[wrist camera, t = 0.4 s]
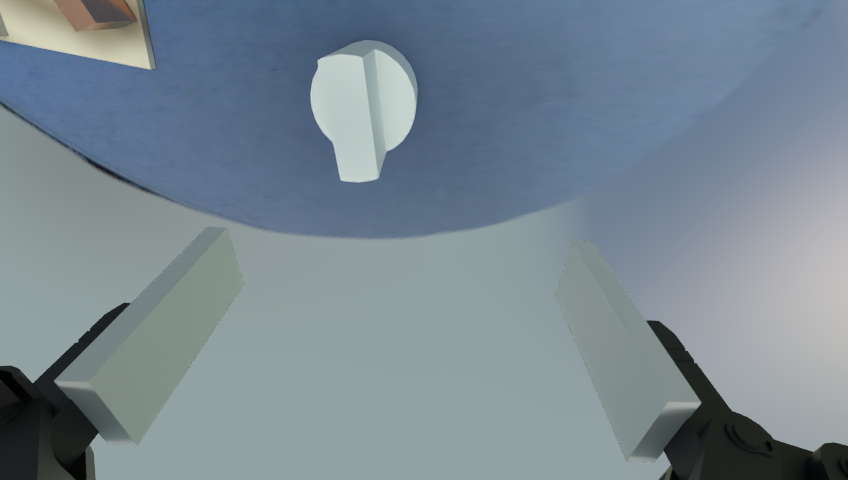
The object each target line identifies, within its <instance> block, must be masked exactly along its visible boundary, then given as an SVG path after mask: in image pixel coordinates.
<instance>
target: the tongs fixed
mask: <svg viewBox="0 0 848 480" xmlns="http://www.w3.org/2000/svg"><path fill="white" fill-rule="evenodd" d="M1 36H9V35H8V32H7V29H6V27H5V24H4V22H3V19H2V16H1V14H0V37H1Z"/></svg>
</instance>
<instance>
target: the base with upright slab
mask: <svg viewBox="0 0 848 480" xmlns="http://www.w3.org/2000/svg"><path fill="white" fill-rule="evenodd" d="M317 62H318V69H317V71H316V73H315V76H314V78H313V81H312V86H311V92H310V96H311V107H312V111H313V113H314V116H315V119H316V122H317V124H318V125H319V127H320V128H321V130H322V131H323V133H324V134H325V135H326V136H327V137H328V138H329V139H330V140H331V141H332V142H333V144H334V150H335V155H336V160H337V165H338V170H339V175H340V180H342V181H347V182H365V181H371V180H375V179H378V178H379V175H380V171H381V168H382V165H383V161H384V158H385V155H386V152H387V151H389V150H391V149H394V148H395V147H396V146H397V145H398V144H400V143H401V142H402V141H403V140H404V139H405V137H406V136H407V134H408V133H409V131H410V130H411V127H412V124H413V121H414V118H415V112H416V105H417V93H418V87H417V82H416V77H415V74H414V72H413V70H412V67H411V65H410V64H409V62H408V61H407V60H406V58H405V57H404V56H403V55H402V54H401V53H400V52H399V51H397V50H396V49H395V48H393V47H392V46H391V45H388V44H385V43H383V42H380V41H374V40H363V41H359V42H354V43H352V44H350V45H348V46H346V47H343V48H341V49H339V50H337V51H335V52H333V53H331V54H329V55H327V56H325V57H322V58H321V59H319V60H317Z"/></svg>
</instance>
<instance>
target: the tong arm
mask: <svg viewBox="0 0 848 480" xmlns="http://www.w3.org/2000/svg"><path fill="white" fill-rule="evenodd" d="M53 1H54V2H55V3H56V5H57V6H58V8H59V9H60V10H61V12H62V13H63V15H64V16H65V17H66V19H67V20H68V21H69V23H70V24H71V26H72V27H73V28H74V30H75V31H76V32H80V31H94V30H108V29H119V28H121V27H124V26H126V25H128V24H131V23H133V22H136V19H135V18H134V16H133V15H132V13H131V11H130V10H129V8H128V7H127V5H126V4H125V2H124V0H53Z"/></svg>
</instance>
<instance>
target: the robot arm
mask: <svg viewBox="0 0 848 480" xmlns="http://www.w3.org/2000/svg"><path fill="white" fill-rule="evenodd" d="M243 285H244V281H243V278H242V275H241V271H240V268H239V264H238V261H237V258H236V255H235V252H234V249H233V245H232V243H231V239H230V236H229V232H228V229H227V228H217V227H207V228H205V229H204V231H202V232H201V233H200V234H199V235H198V236H197V237H196V238H195V239H194V241H192V243H190V245H188V247H186V248H185V249H184V250H183V252H182V253H181V254H180V255H179V256H178V257H177V258H176V259H175V260H174V261H173V262H172V263H171V264H170V265H169V266H168V267H167V268H166V269H165V270H164V271H163V272H162V273H161V274H160V275H159V276H158V277H157V278H156V279H155V280H154V281H153V282H152V283H151V284H150V285H149V286H148V287H147V288H146V289H145V290H144V291H143V292H142V293H141V294H140V295H139V296H138V297H137V298H136V299H135V300H134V301H133V302H132V303H123V304H121V305H120V306H118V307H116V308H115V309H113V310H111V311H110V312H108V313H107V314H105V315H104V316H103V317H102V318H101V319H100V320H99V321H97V323H95V324H94V325H93V327H91V328H90V331H87V332H86V333H85V334H84V335H83V336H82V337H81V338H80V339H79V342H78V343H75V344H74V345H73V346H72V347H70V348H69V349H68V350H67V351H66V352H65V353H64V354H63V355H62V356H61V357H60V358H59V359H58V360H57V361H56V362H55V363H54V364H53V365H52V366H51V367H50V368H48V369H47V370H46V371H45V372H44V373H43V374H42V375H41V376H40V377H39V378H38V379H37V380H36V381H35V382H34V383H31V381H30V380H29V379H28V378H27V377H26V376H25V375H24V374H23V373H22V372H21V371H20V369H18V368H16V367H13V366H0V480H95V466H94V453H93V451H92V449H91V447H90V446H89V444H90V443H91V442H92V440H93V439H94V438H95V437H96V435H97V434H98V433H99V434H100V435H101V436H102V438H103V439H104V440H105V441H106V442H107V443H108V445H131V446H138V444H139V443H140V441H141V440H142V438H143V436H144V435H145V434H146V432H147V431H148V429H149V428H150V426H151V425H152V423H153V421H154V420H155V418H156V417H157V415H158V414H159V412H160V411H161V409H162V408H163V406H164V405H165V403H166V402H167V400H168V399H169V397H170V396H171V394H172V393H173V391H174V390H175V388H176V387H177V385H178V383H179V382H180V381H181V379H182V377H183V376H184V375H185V373H186V372H187V370H188V368H189V367H190V365H191V364H192V362H193V361H194V359H195V358H196V356H197V355H198V353H199V352H200V350H201V349H202V347H203V346H204V344H205V343H206V341H207V339H208V338H209V337H210V335H211V334H212V332H213V331H214V329H215V327H216V326H217V325H218V323H219V321H220V320H221V318H222V317H223V315H224V314H225V312H226V311H227V309H228V308H229V306H230V305H231V303H232V302H233V300H234V298H235V297H236V296H237V294H238V293H239V291H240V290H241V288H242V287H243ZM555 296H556V298H557V301H558V303H559V305H560V308H561V310H562V312H563V314H564V317H565V319H566V322H567V324H568V326H569V329H570V331H571V333H572V335H573V338H574V340H575V343H576V345H577V347H578V350H579V352H580V354H581V357H582V359H583V361H584V363H585V366H586V368H587V371H588V373H589V375H590V378H591V380H592V382H593V385H594V387H595V389H596V392H597V394H598V396H599V399H600V401H601V403H602V406H603V408H604V410H605V413H606V415H607V417H608V420H609V422H610V424H611V427H612V429H613V431H614V434H615V436H616V438H617V441H618V443H619V445H620V448H621V450H622V452H623V455H624V457H625V459H626V461H627V462H655V461H656V460H657V459H658V457H659V456H660V455H661V453H662V452H663V451H664V452H665V454H666V455H667V457H668V460H669V461H670V463H671V466H670V467H669V468H668V469H667V470H666V472H665V473H664V474H663V475H662V476H661V478H660V479H659V480H848V446H846V445H842V444H838V443H825V444H823V445H822V446H821V447H820V448H818V449H817V450H816V451H815V452H812V451H809V450H805V449H802V448H799V447H796V446H793V445H789V444H786V443H783V442H780V441H777V440H774V439H773V438H772V437H771V435H770V434H769V433H767V432H766V431H765V430H764V429H763V428H762V427H761V426H760V425H759V424H757V423H756V422H754V421H752V420H751V419H749V418H748V417H746V416H743V415H741V414H738V413H736V412H732V411H731V409H730V408H729V407H728V405H727V404H726V403H725V401H724V400H723V399H722V397H721V396H720V395H719V393H718V392H717V391H716V389H715V388H714V387H713V385H712V384H711V382H710V381H709V380H708V378H707V377H706V376H705V374H704V373H703V372H702V370H701V369H700V368H699V366H698V365H697V364H696V363H694V360H693V358H692V357H691V355H690V354H689V353H688V351H685V347H684V346H683V345H682V343H681V342H680V341H679V339H678V338H677V336H676V335H675V334H674V333H673V332H672V331H670V330H669V329H668V328H667V327H665V326H664V325H663V324H662V323H661V322H659V321H646V320H645V319H644V317H643V316H642V315H641V313H640V311H639V310H638V309H637V307H636V306H635V304H634V303H633V301H632V300H631V298H630V297H629V295H628V294H627V292H626V291H625V290H624V288H623V286H622V285H621V284H620V282H619V280H618V279H617V278H616V276H615V275H614V273H613V272H612V270H611V269H610V267H609V266H608V264H607V263H606V261H605V260H604V258H603V257H602V255H601V254H600V253H599V251H598V250H597V248H596V247H595V245H594V244H593V242H591V241H572V243H571V246H570V249H569V252H568V255H567V258H566V262H565V265H564V268H563V271H562V275H561V277H560V281H559V284H558V287H557V290H556V293H555Z"/></svg>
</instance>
